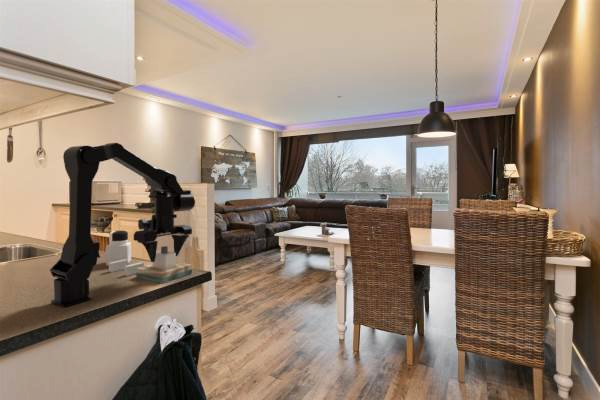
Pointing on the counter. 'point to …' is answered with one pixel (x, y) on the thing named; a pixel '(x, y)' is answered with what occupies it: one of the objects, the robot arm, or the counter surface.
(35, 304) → the counter surface
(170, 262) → the plug
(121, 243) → the medicine bottle
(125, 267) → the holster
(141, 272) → the port block
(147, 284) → the counter surface
